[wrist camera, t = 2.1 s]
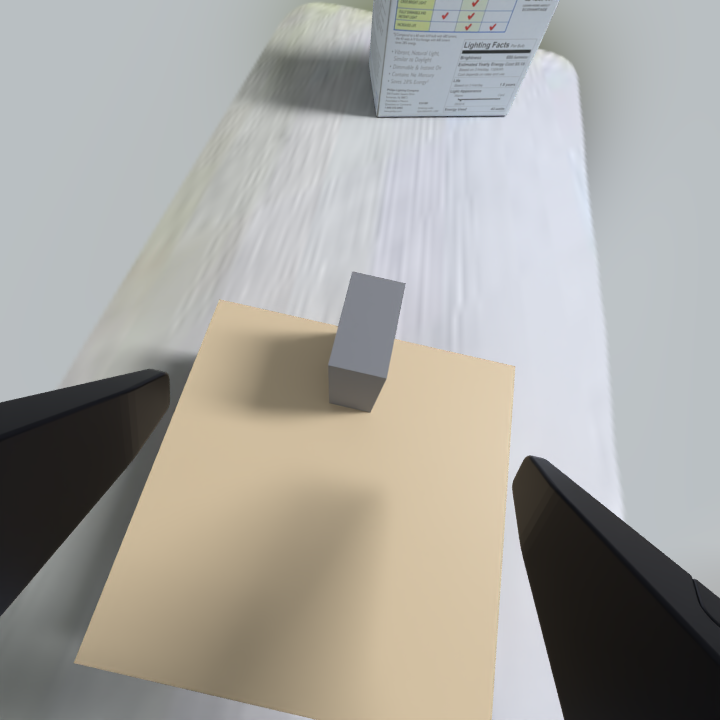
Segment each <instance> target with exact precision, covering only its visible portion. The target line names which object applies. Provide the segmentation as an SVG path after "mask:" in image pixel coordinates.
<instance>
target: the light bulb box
mask: <svg viewBox="0 0 720 720" xmlns="http://www.w3.org/2000/svg"><path fill="white" fill-rule="evenodd" d="M559 1H560V0H374V2H373V15H372V28H371V43H370V57H369V70H370V76H371V83H372V89H373V96H374V103H375V109H376V116H377V117H390V116H500V115H507V114H508V112H509V110H510V108H511V106H512V104H513V101H514V99H515V97H516V95H517V93H518V91H519V88H520V86H521V84H522V82H523V80H524V78H525V75H526V73H527V71H528V69H529V66H530V64H531V62H532V60H533V58H534V56H535V53H536V51H537V49H538V47H539V45H540V42H541V41H542V38H543V36H544V34H545V32H546V29H547V27H548V25H549V23H550V21H551V19H552V16H553V14H554V12H555V10H556V8H557V5H558V3H559Z"/></svg>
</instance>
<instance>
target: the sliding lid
mask: <svg viewBox="0 0 720 720" xmlns="http://www.w3.org/2000/svg"><path fill="white" fill-rule="evenodd" d="M405 284H406V283H401V282H397V281H392V280H388V279H384V278H379V277H375V276H370V275H366V274H361V273H357V272H352V275H351V279H350V283H349V287H348V291H347V294H346V298H345V302H344V306H343V310H342V314H341V317H340V321H339V325H338V326H335V325H330V324H326V323H321V322H317V321H313V320H308V319H304V318H299V317H295V316H291V315H286V314H282V313H277V312H273V311H269V310H264V309H260V308H255V307H251V306H246V305H242V304H238V303H233V302H229V301H224V300H220V299H219V302H218V304H217V307H216V309H215V312H214V314H213V317H212V319H211V322H210V324H209V327H208V329H207V332H206V334H205V337H204V339H203V342H202V344H201V347H200V349H199V352H198V354H197V357H196V359H195V362H194V364H193V367H192V369H191V372H190V374H189V377H188V379H187V382H186V384H185V387H184V389H183V392H182V394H181V397H180V399H179V402H178V404H177V407H176V409H175V412H174V414H173V417H172V419H171V422H170V424H169V427H168V429H167V432H166V434H165V437H164V439H163V442H162V444H161V447H160V449H159V452H158V454H157V456H156V459H155V461H154V464H153V466H152V469H151V471H150V474H149V476H148V479H147V481H146V484H145V486H144V489H143V491H142V494H141V496H140V499H139V501H138V504H137V506H136V509H135V511H134V514H133V516H132V519H131V521H130V524H129V526H128V529H127V531H126V534H125V536H124V539H123V541H122V544H121V546H120V549H119V551H118V554H117V556H116V559H115V561H114V564H113V566H112V569H111V571H110V574H109V576H108V579H107V581H106V584H105V586H104V589H103V591H102V594H101V596H100V599H99V601H98V604H97V606H96V609H95V611H94V614H93V616H92V619H91V621H90V624H89V626H88V629H87V631H86V634H85V636H84V639H83V641H82V644H81V646H80V649H79V651H78V654H77V656H76V658H75V661H74V663H76V664H80V665H84V666H88V667H93V668H97V669H101V670H106V671H110V672H114V673H118V674H123V675H127V676H131V677H136V678H140V679H144V680H148V681H153V682H157V683H161V684H166V685H170V686H174V687H179V688H183V689H187V690H191V691H196V692H200V693H204V694H209V695H213V696H217V697H221V698H226V699H230V700H234V701H239V702H243V703H247V704H251V705H256V706H260V707H264V708H269V709H273V710H277V711H282V712H286V713H290V714H294V715H299V716H303V717H307V718H312V719H316V720H492V705H493V690H494V675H495V660H496V645H497V630H498V615H499V600H500V586H501V571H502V556H503V541H504V526H505V511H506V496H507V481H508V466H509V451H510V436H511V421H512V407H513V392H514V377H515V366H511V365H507V364H503V363H498V362H494V361H489V360H485V359H480V358H476V357H472V356H467V355H463V354H458V353H454V352H450V351H445V350H441V349H436V348H432V347H427V346H423V345H419V344H414V343H410V342H405V341H401V340H397V339H395V334H396V329H397V324H398V319H399V314H400V309H401V304H402V299H403V294H404V289H405Z"/></svg>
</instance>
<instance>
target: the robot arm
mask: <svg viewBox="0 0 720 720" xmlns="http://www.w3.org/2000/svg"><path fill="white" fill-rule="evenodd" d="M169 404H170V384H169V375H168V374H167V373H166V372H163V371H159V370H154V369H147V370H142V371H138V372H133V373H129V374H125V375H120V376H116V377H111V378H107V379H102V380H98V381H94V382H89V383H85V384H80V385H76V386H71V387H67V388H63V389H58V390H54V391H49V392H45V393H40V394H36V395H32V396H27V397H23V398H19V399H14V400H9V401H5V402H1V403H0V616H1V615H2V614H3V613H4V612H5V611H6V609H7V608H8V607H9V606H10V605H11V603H12V602H13V601H14V600H15V599H16V598H17V596H18V595H19V594H20V593H21V592H22V590H23V589H24V588H25V587H26V586H27V585H28V583H29V582H30V581H31V580H32V579H33V578H34V576H35V575H36V574H37V573H38V572H39V570H40V569H41V568H42V567H43V566H44V565H45V563H46V562H47V561H48V560H49V559H50V557H51V556H52V555H53V554H54V553H55V552H56V550H57V549H58V548H59V547H60V546H61V544H62V543H63V542H64V541H65V540H66V539H67V537H68V536H69V535H70V534H71V533H72V532H73V530H74V529H75V528H76V527H77V526H78V524H79V523H80V522H81V521H82V520H83V519H84V517H85V516H86V515H87V514H88V513H89V511H90V510H91V509H92V508H93V507H94V506H95V504H96V503H97V502H98V501H99V500H100V498H101V497H102V496H103V495H104V494H105V493H106V491H107V490H108V489H109V488H110V487H111V486H112V484H113V483H114V482H115V481H116V480H117V478H118V477H119V476H120V475H121V474H122V473H123V471H124V470H125V469H126V468H127V467H128V465H129V464H130V463H131V462H132V460H133V459H134V458H135V456H136V455H137V454H138V452H139V451H140V449H141V448H142V446H143V445H144V444H145V442H146V441H147V439H148V438H149V436H150V435H151V433H152V432H153V430H154V429H155V427H156V426H157V424H158V423H159V421H160V420H161V418H162V417H163V416H164V414H165V413H166V411H167V409H168V407H169ZM512 491H513V498H514V505H515V512H516V519H517V526H518V533H519V540H520V546H521V551H522V555H523V559H524V563H525V567H526V571H527V575H528V579H529V583H530V587H531V591H532V595H533V599H534V603H535V607H536V611H537V614H538V618H539V622H540V626H541V630H542V634H543V638H544V642H545V646H546V650H547V654H548V658H549V662H550V666H551V670H552V673H553V677H554V681H555V685H556V689H557V693H558V697H559V701H560V705H561V709H562V713H563V717H564V720H720V598H719V597H717V596H716V595H715V594H714V593H712V592H711V591H710V590H709V589H707V588H706V587H705V586H704V585H703V584H701V583H700V582H699V581H698V580H696V579H692V576H691V575H690V574H689V573H687V572H686V571H685V570H683V569H682V568H681V567H680V566H679V565H677V564H676V563H675V562H674V561H672V560H671V559H670V558H669V557H667V556H666V555H665V554H664V553H662V552H661V551H660V550H659V549H657V548H656V547H655V546H654V545H652V544H651V543H650V542H649V541H647V540H646V539H645V538H644V537H642V536H641V535H640V534H639V533H637V532H636V531H635V530H634V529H632V528H631V527H630V526H629V525H627V524H626V523H625V522H624V521H622V520H621V519H620V518H619V517H617V516H616V515H615V514H614V513H612V512H611V511H610V510H609V509H607V508H606V507H605V506H604V505H602V504H601V503H600V502H599V501H597V500H596V499H595V498H594V497H592V496H591V495H590V494H589V493H587V492H586V491H585V490H584V489H582V488H581V487H580V486H579V485H577V484H576V483H575V482H574V481H572V480H571V479H570V478H569V477H567V476H566V475H565V474H564V473H562V472H561V471H560V470H559V469H557V468H556V467H555V466H554V465H552V464H551V463H550V462H549V461H547V460H546V459H544V458H540V457H535V456H531V455H529V456H527V457H526V458H525V459H524V460H523V462H522V464H521V466H520V468H519V470H518V472H517V474H516V476H515V478H514V480H513V485H512Z"/></svg>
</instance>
